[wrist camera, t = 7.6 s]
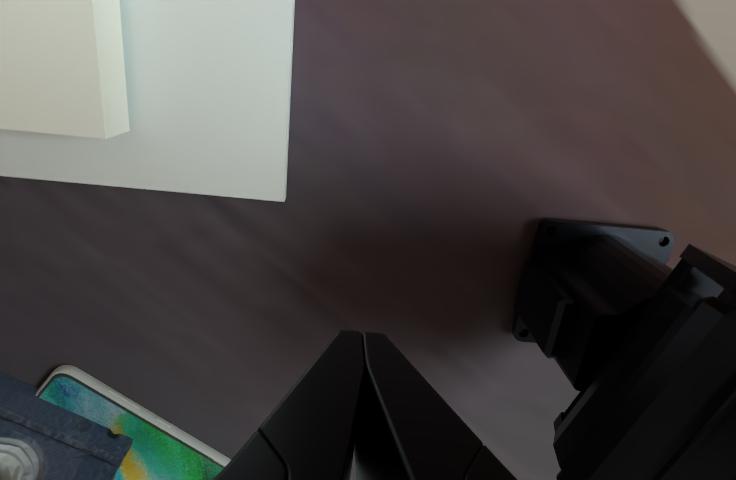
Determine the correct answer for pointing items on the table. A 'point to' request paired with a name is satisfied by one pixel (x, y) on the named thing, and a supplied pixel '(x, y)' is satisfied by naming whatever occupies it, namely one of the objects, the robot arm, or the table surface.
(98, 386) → the smartphone
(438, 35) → the table surface
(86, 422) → the vhs cassette tape
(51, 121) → the tile
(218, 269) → the table surface
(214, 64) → the mat
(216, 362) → the table surface
